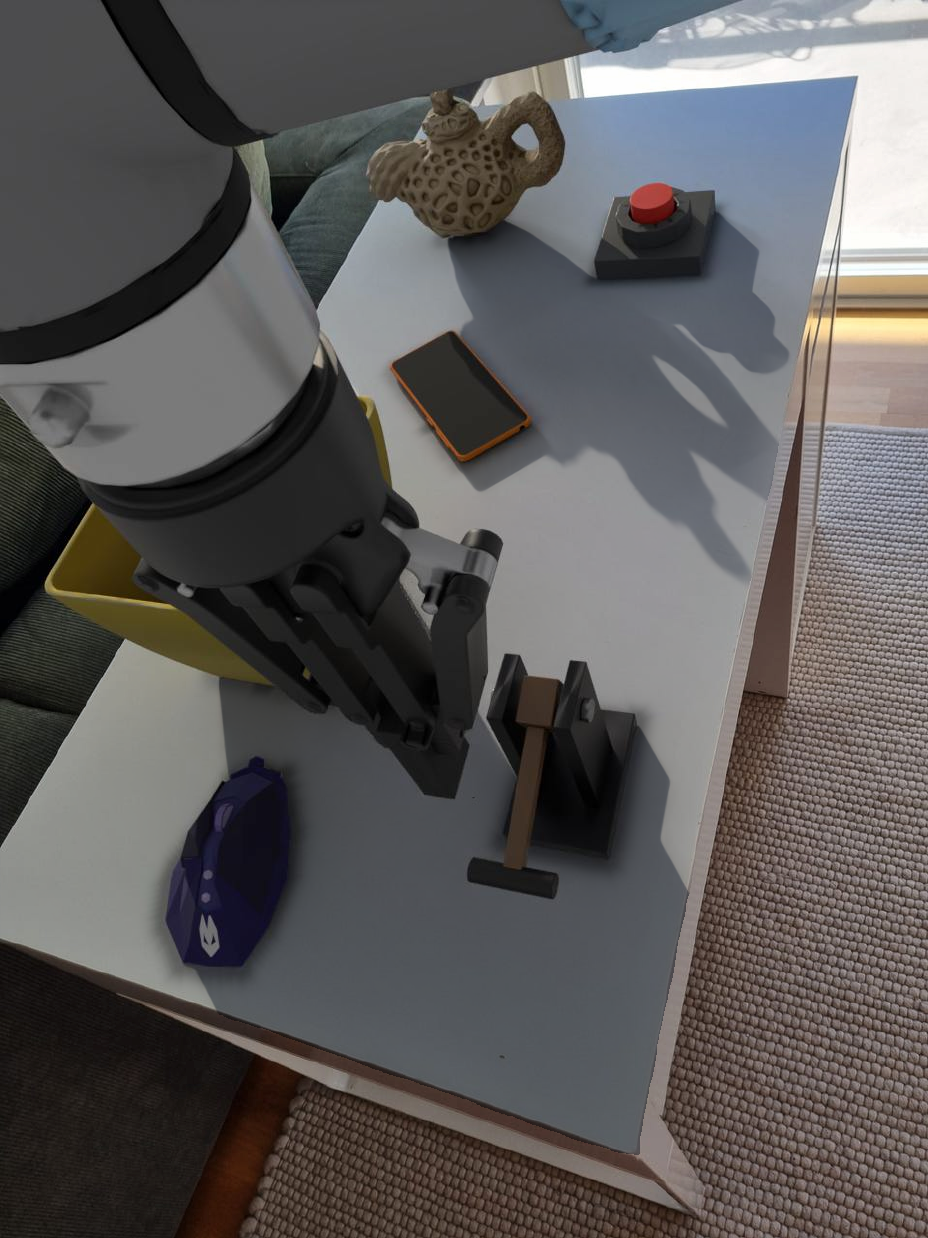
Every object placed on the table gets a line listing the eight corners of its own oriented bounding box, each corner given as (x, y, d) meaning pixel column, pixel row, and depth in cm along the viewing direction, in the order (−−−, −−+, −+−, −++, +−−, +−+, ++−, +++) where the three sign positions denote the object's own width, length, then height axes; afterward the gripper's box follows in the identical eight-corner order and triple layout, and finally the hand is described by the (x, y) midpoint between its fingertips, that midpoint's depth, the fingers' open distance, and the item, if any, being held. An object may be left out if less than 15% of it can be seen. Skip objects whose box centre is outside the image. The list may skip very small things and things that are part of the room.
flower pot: (368, 744, 70) (272, 623, 56) (163, 706, 77) (35, 590, 63) (445, 541, 79) (379, 394, 65) (255, 524, 86) (160, 388, 72)
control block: (715, 209, 93) (713, 172, 90) (700, 275, 88) (698, 239, 85) (616, 215, 97) (611, 180, 94) (597, 280, 92) (590, 244, 89)
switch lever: (558, 900, 53) (547, 899, 51) (475, 883, 55) (462, 881, 52) (591, 690, 56) (582, 681, 53) (511, 681, 57) (500, 671, 55)
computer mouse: (145, 961, 65) (113, 946, 62) (204, 763, 73) (178, 740, 69) (266, 970, 62) (239, 955, 59) (313, 764, 70) (292, 740, 67)
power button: (677, 197, 90) (676, 180, 89) (670, 223, 88) (669, 207, 87) (636, 200, 92) (634, 184, 90) (628, 226, 90) (626, 210, 88)
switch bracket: (609, 860, 60) (577, 779, 50) (506, 840, 63) (455, 760, 53) (637, 721, 65) (613, 622, 55) (540, 709, 68) (500, 611, 57)
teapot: (379, 271, 102) (328, 140, 90) (398, 207, 108) (352, 76, 96) (573, 244, 96) (546, 99, 84) (581, 177, 102) (557, 33, 90)
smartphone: (454, 332, 93) (452, 326, 92) (535, 425, 83) (533, 418, 83) (388, 369, 93) (385, 363, 92) (461, 467, 83) (459, 460, 82)
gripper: (-69, 498, 25) (296, 826, 44) (377, 513, 20) (569, 873, 39) (62, 305, 28) (346, 684, 47) (464, 280, 24) (602, 712, 43)
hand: (447, 769), depth 43 cm, fingers closed
